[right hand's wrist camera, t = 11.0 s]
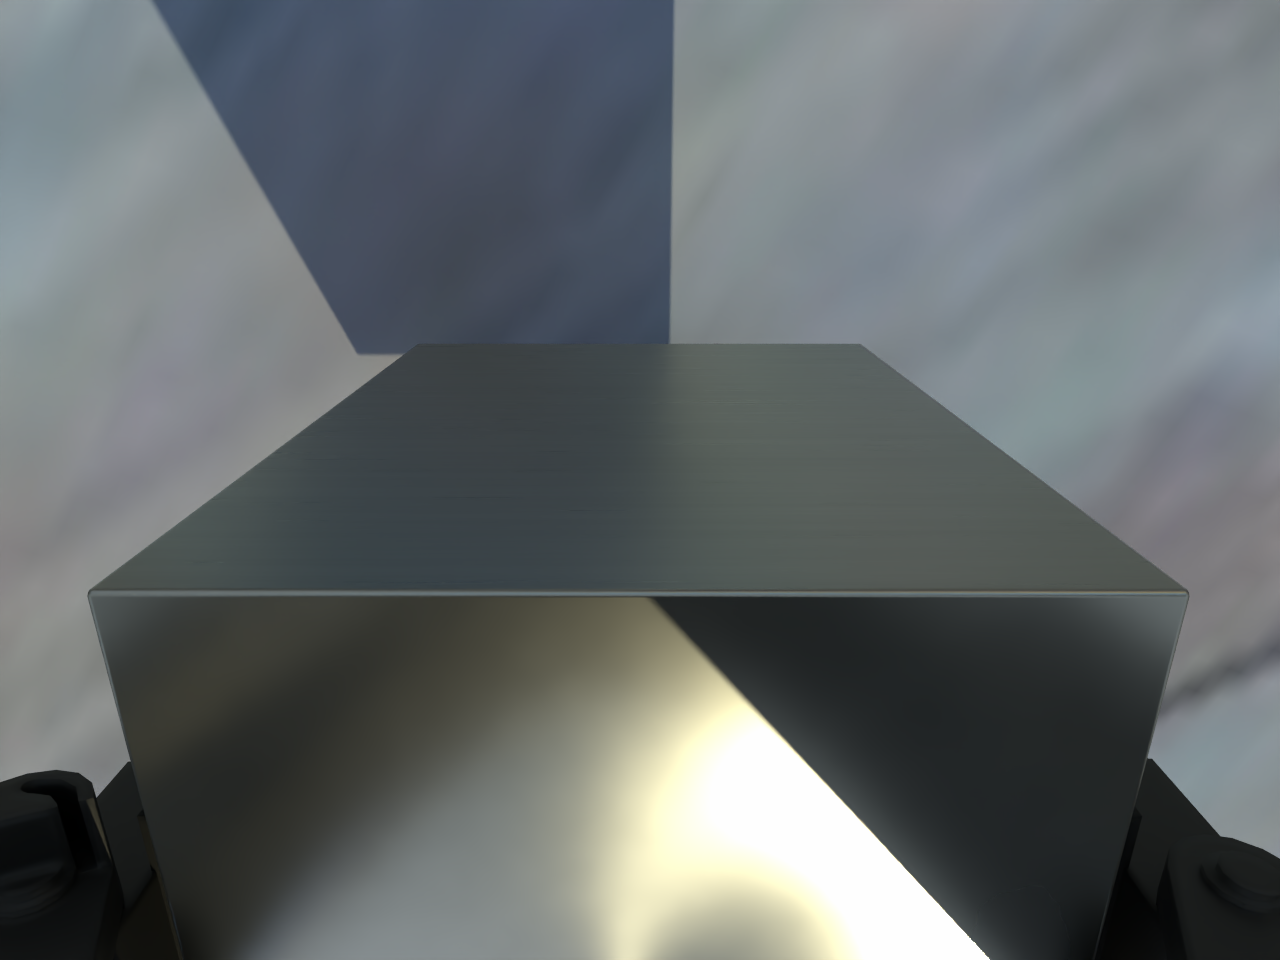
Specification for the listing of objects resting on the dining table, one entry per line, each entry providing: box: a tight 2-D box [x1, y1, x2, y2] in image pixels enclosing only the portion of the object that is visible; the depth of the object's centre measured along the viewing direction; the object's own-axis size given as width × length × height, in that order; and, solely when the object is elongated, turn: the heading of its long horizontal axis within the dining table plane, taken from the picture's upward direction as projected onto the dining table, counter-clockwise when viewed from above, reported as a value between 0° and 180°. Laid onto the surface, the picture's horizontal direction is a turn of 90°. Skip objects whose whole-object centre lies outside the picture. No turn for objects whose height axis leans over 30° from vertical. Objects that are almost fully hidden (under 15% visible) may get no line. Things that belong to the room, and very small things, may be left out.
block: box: [88, 344, 1189, 960], centre depth 12 cm, size 8×8×9 cm
